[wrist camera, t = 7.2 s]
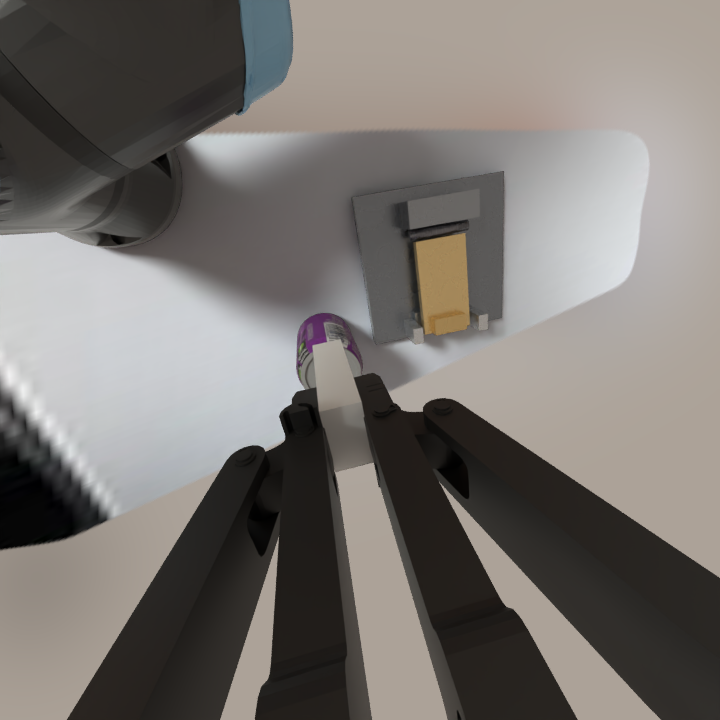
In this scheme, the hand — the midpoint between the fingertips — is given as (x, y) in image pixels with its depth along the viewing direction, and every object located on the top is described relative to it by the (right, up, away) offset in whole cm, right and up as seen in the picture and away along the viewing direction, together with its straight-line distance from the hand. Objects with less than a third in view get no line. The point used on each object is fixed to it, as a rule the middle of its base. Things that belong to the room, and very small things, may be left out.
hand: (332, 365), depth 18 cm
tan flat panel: (+11, +10, +23) cm, 28 cm away
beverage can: (-3, +3, +27) cm, 27 cm away
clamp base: (+11, +13, +25) cm, 30 cm away
